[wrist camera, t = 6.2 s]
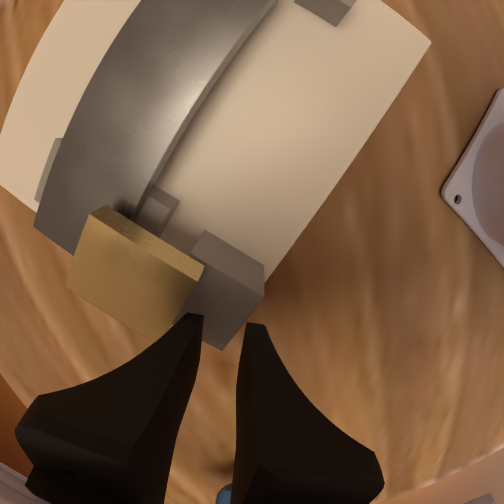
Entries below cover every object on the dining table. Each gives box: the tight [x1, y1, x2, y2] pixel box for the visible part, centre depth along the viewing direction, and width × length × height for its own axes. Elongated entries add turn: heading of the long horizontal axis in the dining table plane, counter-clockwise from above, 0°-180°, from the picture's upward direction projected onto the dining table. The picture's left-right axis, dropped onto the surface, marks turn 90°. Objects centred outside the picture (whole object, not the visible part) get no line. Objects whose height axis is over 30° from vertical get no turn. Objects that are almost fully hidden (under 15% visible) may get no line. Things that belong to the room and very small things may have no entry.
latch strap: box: [33, 0, 277, 256], centre depth 9 cm, size 15×4×1 cm, turn 147°
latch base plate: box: [0, 0, 432, 351], centre depth 11 cm, size 16×17×4 cm
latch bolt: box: [65, 205, 204, 343], centre depth 10 cm, size 4×3×1 cm
